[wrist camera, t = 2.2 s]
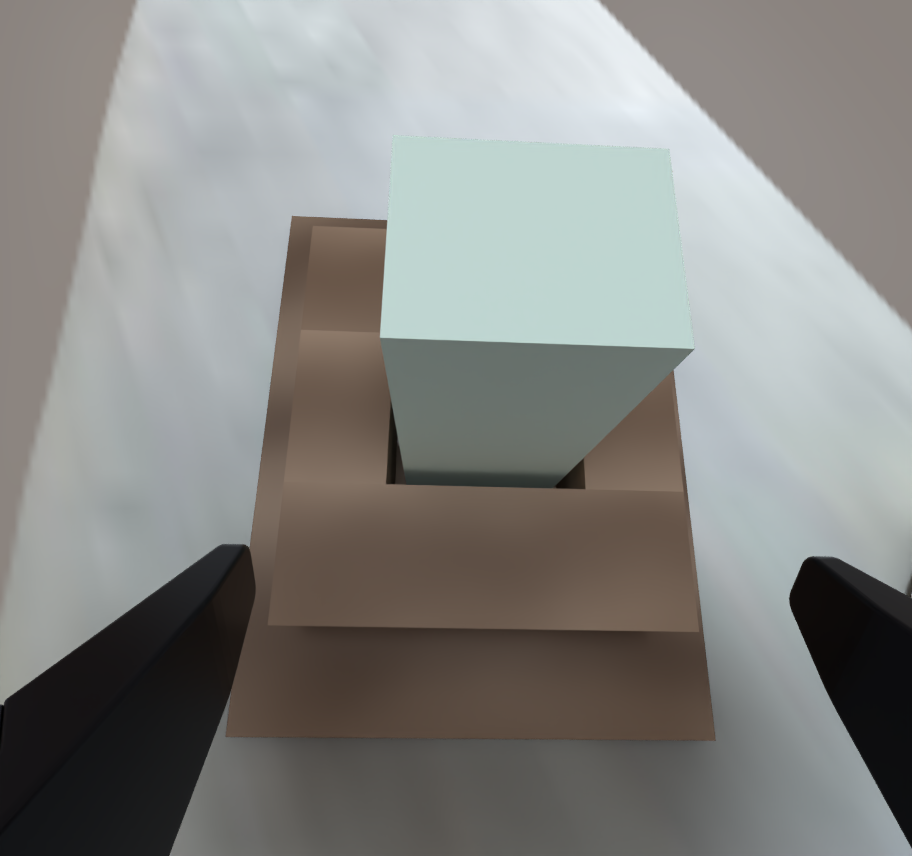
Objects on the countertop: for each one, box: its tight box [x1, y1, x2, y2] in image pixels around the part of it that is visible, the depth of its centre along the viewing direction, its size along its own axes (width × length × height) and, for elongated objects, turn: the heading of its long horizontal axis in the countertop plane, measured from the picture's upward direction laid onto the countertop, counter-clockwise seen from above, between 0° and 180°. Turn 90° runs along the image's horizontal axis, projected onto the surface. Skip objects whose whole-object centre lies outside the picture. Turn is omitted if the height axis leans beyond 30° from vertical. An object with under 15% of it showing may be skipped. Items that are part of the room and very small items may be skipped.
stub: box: [380, 135, 695, 488], centre depth 15 cm, size 4×5×12 cm
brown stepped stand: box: [226, 216, 716, 741], centre depth 20 cm, size 20×16×5 cm
